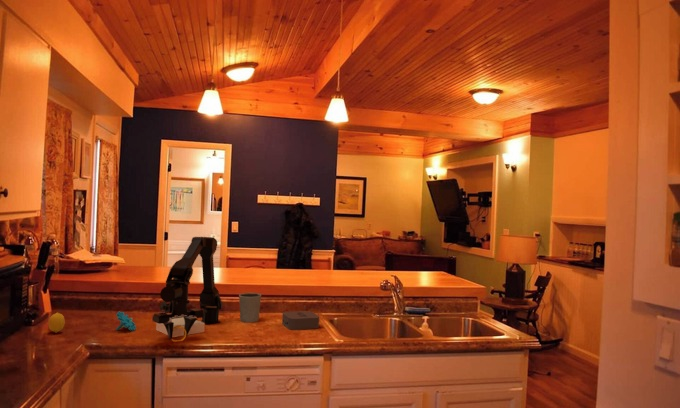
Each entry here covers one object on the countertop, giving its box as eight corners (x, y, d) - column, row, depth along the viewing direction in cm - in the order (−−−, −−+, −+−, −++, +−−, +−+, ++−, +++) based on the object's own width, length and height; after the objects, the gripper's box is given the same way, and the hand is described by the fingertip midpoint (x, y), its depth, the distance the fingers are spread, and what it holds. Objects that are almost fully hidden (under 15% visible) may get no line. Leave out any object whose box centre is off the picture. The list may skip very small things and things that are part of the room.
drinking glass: (264, 320, 224) (265, 294, 225) (249, 324, 216) (250, 297, 216) (248, 317, 230) (249, 292, 230) (233, 320, 221) (234, 294, 222)
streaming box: (320, 329, 214) (321, 317, 214) (289, 330, 208) (290, 319, 208) (310, 321, 227) (310, 310, 227) (280, 323, 222) (281, 312, 222)
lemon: (67, 332, 189) (68, 312, 189) (53, 335, 184) (55, 314, 184) (58, 330, 191) (59, 310, 191) (44, 333, 186) (45, 312, 186)
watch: (170, 343, 182) (169, 327, 182) (169, 341, 184) (169, 326, 184) (186, 341, 184) (186, 325, 184) (185, 339, 187) (185, 324, 187)
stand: (187, 325, 209) (187, 316, 209) (204, 331, 199) (204, 322, 199) (156, 330, 199) (156, 320, 199) (172, 337, 189) (173, 327, 189)
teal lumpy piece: (131, 329, 191) (115, 311, 192) (119, 340, 190) (103, 321, 191) (141, 327, 202) (126, 309, 203) (130, 336, 201) (115, 319, 202)
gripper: (191, 291, 197) (189, 330, 196) (146, 296, 183) (144, 337, 183) (205, 296, 189) (203, 335, 189) (160, 301, 175) (158, 343, 175)
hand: (177, 337), depth 184 cm, fingers closed on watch, 6 cm apart
